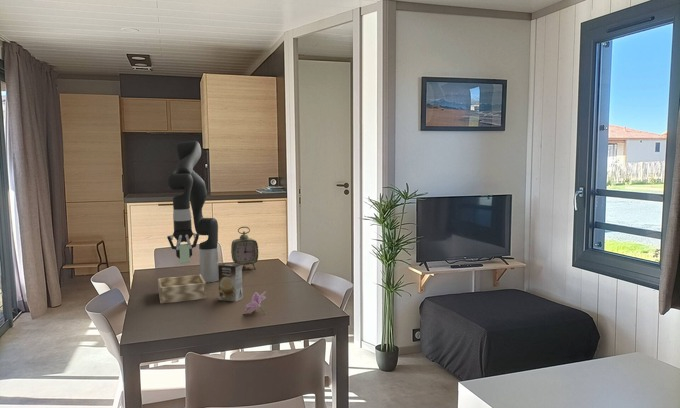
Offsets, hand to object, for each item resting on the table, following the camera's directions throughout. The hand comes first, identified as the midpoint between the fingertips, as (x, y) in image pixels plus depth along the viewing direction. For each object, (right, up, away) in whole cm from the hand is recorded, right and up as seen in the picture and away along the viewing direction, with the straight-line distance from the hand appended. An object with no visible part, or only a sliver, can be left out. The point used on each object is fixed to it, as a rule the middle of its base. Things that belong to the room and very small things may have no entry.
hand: (184, 257), depth 225 cm
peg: (0, -2, 0) cm, 2 cm away
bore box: (-5, -19, +13) cm, 24 cm away
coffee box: (+19, -20, +6) cm, 28 cm away
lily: (+35, -21, -16) cm, 44 cm away
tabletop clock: (+14, -15, +71) cm, 74 cm away
